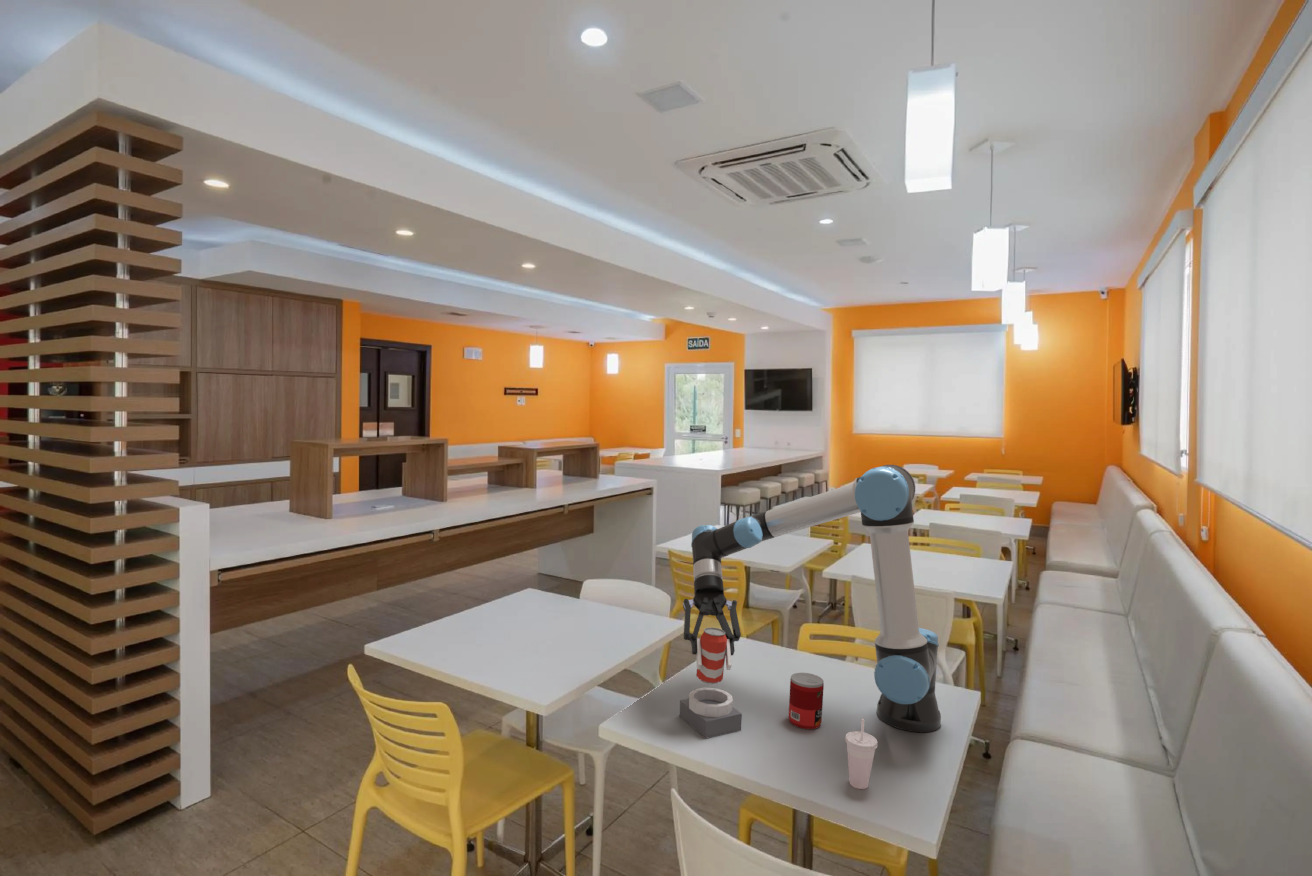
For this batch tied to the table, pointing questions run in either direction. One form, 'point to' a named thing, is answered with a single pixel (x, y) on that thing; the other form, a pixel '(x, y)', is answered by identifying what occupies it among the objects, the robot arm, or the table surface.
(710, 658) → the beverage can
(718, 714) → the mount
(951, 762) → the table surface
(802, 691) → the canned food
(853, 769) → the smoothie
